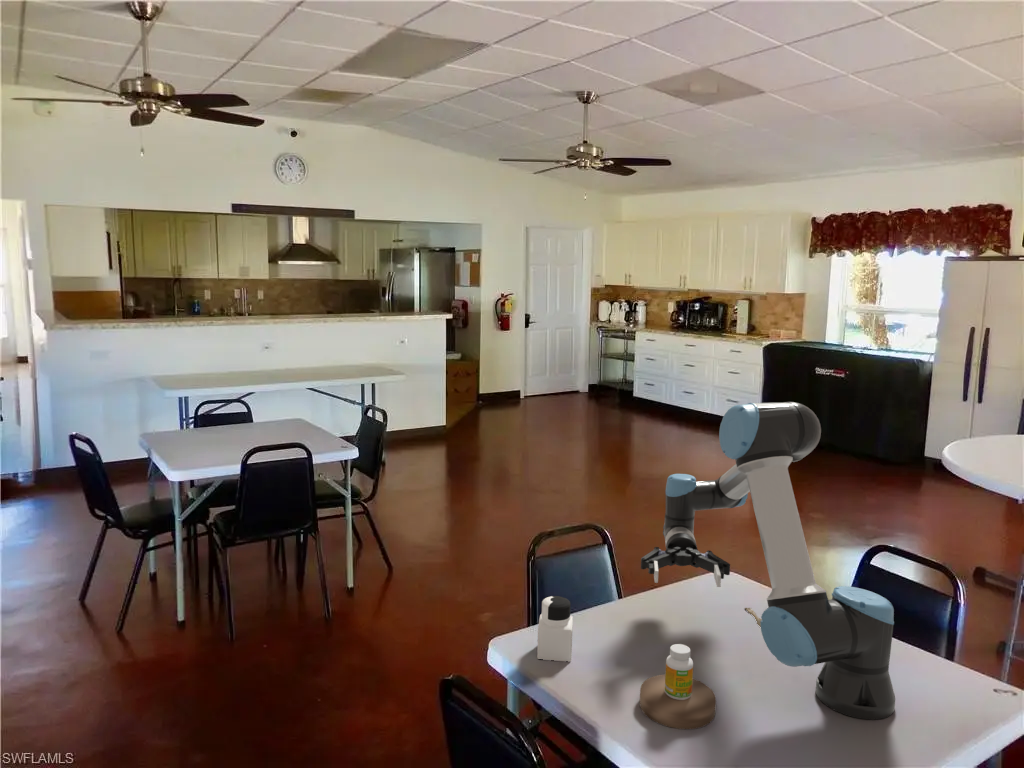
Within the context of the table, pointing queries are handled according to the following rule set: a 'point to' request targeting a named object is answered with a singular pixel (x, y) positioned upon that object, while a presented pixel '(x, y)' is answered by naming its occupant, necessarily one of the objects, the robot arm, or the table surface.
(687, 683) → the supplement bottle
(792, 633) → the robot arm
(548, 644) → the container
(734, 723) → the table surface
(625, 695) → the table surface
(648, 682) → the walnut base
